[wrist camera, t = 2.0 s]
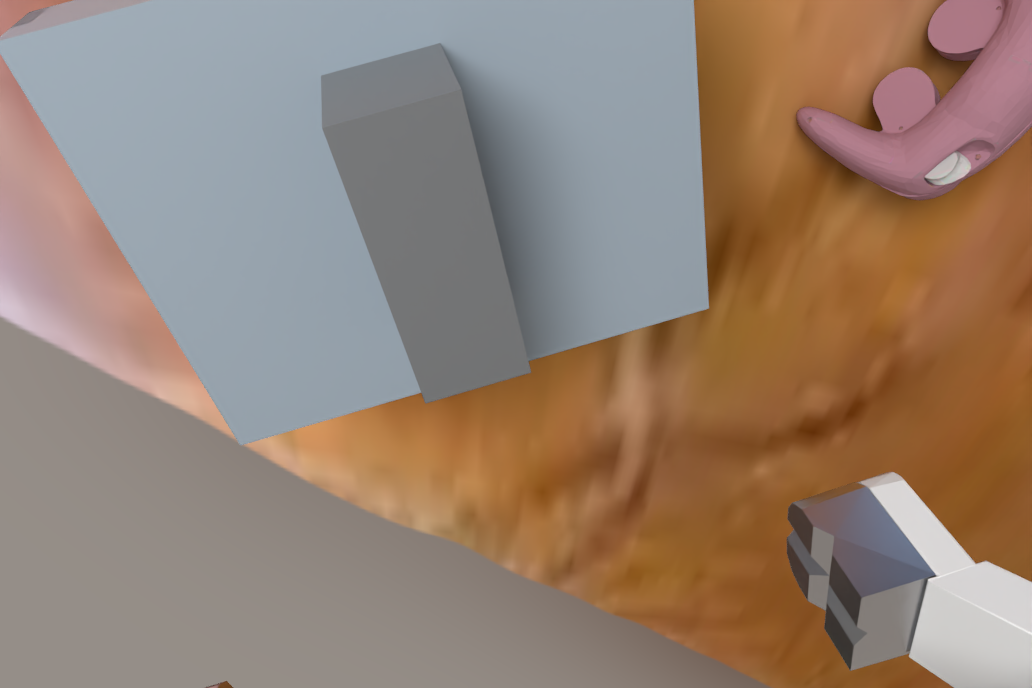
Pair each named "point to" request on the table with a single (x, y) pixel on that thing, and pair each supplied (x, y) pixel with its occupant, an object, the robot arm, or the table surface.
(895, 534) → the robot arm
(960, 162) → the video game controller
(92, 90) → the lid
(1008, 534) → the table surface
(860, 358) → the table surface
